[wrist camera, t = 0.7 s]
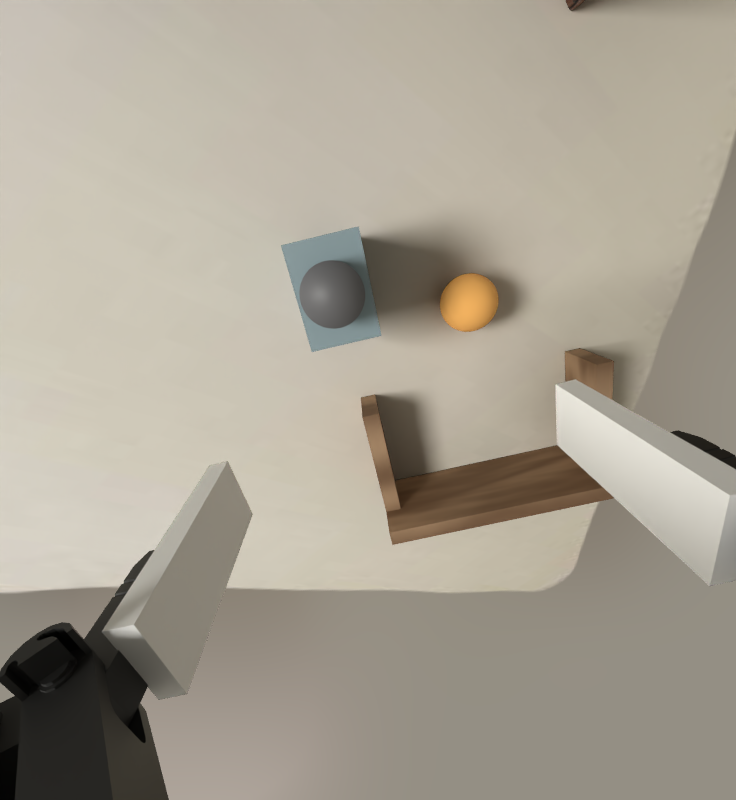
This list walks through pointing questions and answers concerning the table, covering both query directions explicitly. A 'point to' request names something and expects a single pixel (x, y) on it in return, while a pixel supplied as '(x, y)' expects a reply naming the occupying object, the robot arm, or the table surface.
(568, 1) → the letter holder
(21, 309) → the table surface
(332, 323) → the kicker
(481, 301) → the ball
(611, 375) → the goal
